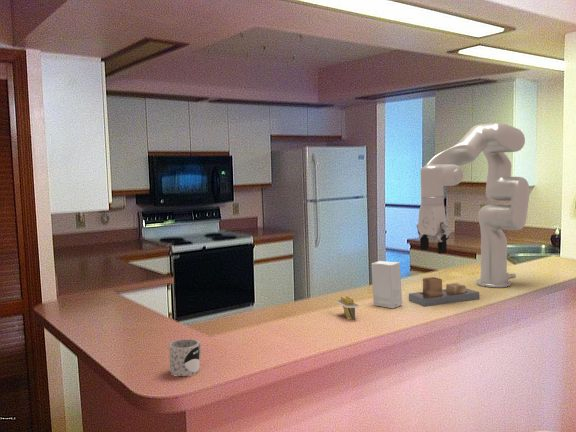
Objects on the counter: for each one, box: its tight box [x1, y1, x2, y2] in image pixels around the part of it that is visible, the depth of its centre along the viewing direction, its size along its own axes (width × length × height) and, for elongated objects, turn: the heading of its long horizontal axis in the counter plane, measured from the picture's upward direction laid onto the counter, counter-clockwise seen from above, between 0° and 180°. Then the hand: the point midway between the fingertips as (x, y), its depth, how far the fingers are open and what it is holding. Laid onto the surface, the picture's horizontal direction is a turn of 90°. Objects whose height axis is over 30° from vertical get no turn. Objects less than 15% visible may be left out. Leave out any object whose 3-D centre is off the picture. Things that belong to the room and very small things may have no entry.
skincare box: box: [371, 260, 403, 309], centre depth 178 cm, size 8×6×15 cm
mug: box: [168, 338, 202, 377], centre depth 123 cm, size 10×7×7 cm, turn 158°
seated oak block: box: [445, 282, 466, 294], centre depth 186 cm, size 5×5×5 cm
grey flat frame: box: [408, 287, 480, 307], centre depth 185 cm, size 23×9×2 cm, turn 111°
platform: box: [337, 295, 360, 321], centre depth 165 cm, size 12×18×7 cm, turn 18°
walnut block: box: [422, 276, 443, 297], centre depth 183 cm, size 5×5×8 cm
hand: (433, 251), depth 182 cm, fingers open, 9 cm apart
